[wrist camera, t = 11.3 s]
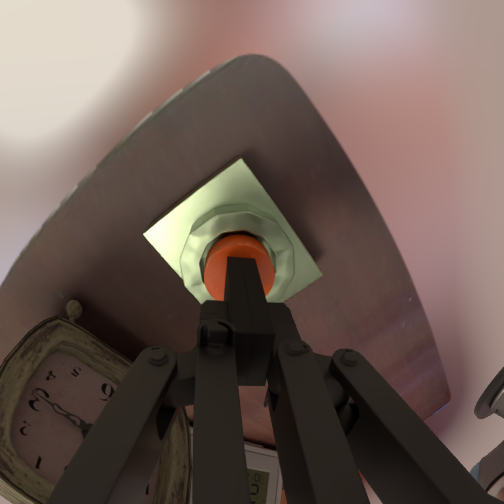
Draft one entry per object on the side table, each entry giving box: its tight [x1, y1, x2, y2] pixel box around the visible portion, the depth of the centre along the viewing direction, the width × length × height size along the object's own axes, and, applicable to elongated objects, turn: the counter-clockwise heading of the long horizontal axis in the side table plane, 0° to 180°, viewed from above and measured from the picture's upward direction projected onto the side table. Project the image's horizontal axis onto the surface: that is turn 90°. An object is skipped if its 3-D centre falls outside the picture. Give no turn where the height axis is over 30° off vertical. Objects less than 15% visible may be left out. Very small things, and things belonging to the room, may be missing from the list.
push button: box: [204, 234, 275, 301], centre depth 17 cm, size 4×4×2 cm
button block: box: [143, 156, 323, 305], centre depth 20 cm, size 10×8×4 cm
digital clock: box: [189, 426, 282, 504], centre depth 27 cm, size 16×9×11 cm, turn 42°
